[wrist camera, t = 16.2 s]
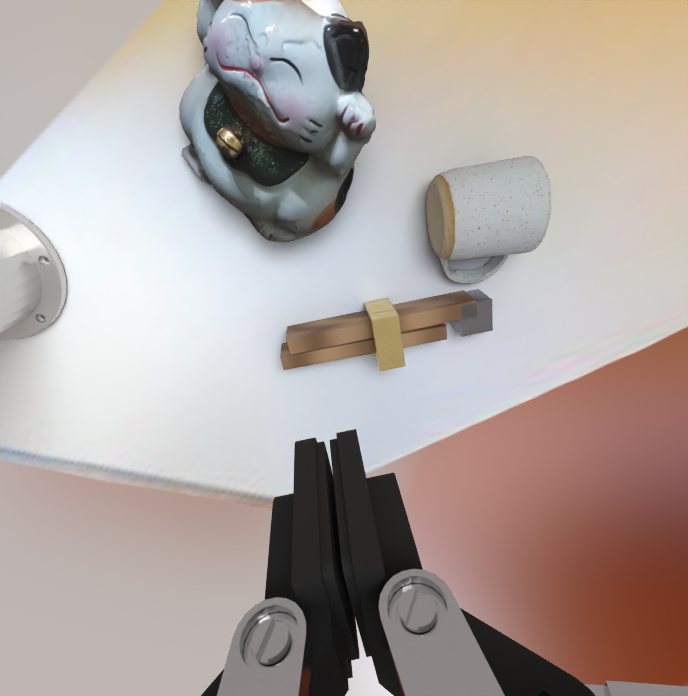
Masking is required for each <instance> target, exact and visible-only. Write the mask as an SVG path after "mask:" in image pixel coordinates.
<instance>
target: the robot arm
mask: <svg viewBox="0 0 688 696" xmlns="http://www.w3.org/2000/svg"><path fill="white" fill-rule="evenodd" d="M47 258H48V259H49V260H48V259H47ZM66 293H67V289H66V277H65V273H64V269H63V266H62V263H61V261H60V259H59V257H58V254H57V252H56V251H55V249H54V248H53V246H52V245H51V243H50V242H49V240H48V239H47V238H46V237H45V236H44V235H43V234H42V233H41V231H40V230H39V229H38V228H37V227H36V226H35V225H33V224H32V223H31V222H30V221H29V220H27V219H26V218H25V217H24V216H22V215H21V214H19V213H17V212H16V211H14V210H12V209H11V208H9V207H7V206H5V205H3V204H0V340H3V341H9V340H18V339H23V338H26V337H29V336H32V335H34V334H36V333H38V332H40V331H41V330H43V329H44V328H46V327H47V326H48V325H50V324H51V323H52V322H53V321H54V320H55V319H56V318H57V316H58V315H59V314H60V312H61V310H62V308H63V306H64V303H65V298H66ZM330 449H331V459H332V469H333V474H332V470H331V466H330V462H329V458H328V454H327V451H326V447H325V443H324V441H323V442H318V443H317V441H316V438H311V439H306V440H301V441H296V442H295V457H294V493H293V494H289V495H284V496H279V497H275V498H274V501H273V508H272V520H271V532H270V544H269V556H268V568H267V580H266V591H265V600H264V601H262V602H261V603H259V604H257V605H255V606H254V607H253V608H252V609H251V610H250V611H248V612H247V613H246V614H245V616H244V617H243V618H242V620H241V621H240V623H239V624H238V626H237V629H236V631H235V633H234V636H233V639H232V642H231V646H230V650H229V653H228V657H227V661H226V664H225V668H224V669H223V671H222V672H221V673H220V674H219V675H218V677H217V678H216V679H215V680H214V681H213V682H212V683H211V685H210V686H209V687H208V688H207V689H206V691H205V692H204V693H203V694H202V695H201V696H345V694H346V693H347V691H348V678H351V677H353V676H352V666H351V660H355V659H359V647H358V639H357V630H356V621H357V625H358V628H359V632H360V635H361V639H362V642H363V646H364V650H365V653H366V656H367V657H368V656H372V659H373V662H374V666H375V670H376V674H377V678H378V681H379V683H380V684H381V685H382V686H383V687H384V688H385V689H387V690H388V691H389V692H390V693H391V694H393V695H394V696H688V687H685V686H671V685H658V684H645V683H631V682H617V681H606V682H605V686H602V685H588V684H583V683H582V682H580V681H579V680H578V679H576V678H575V677H573V676H572V675H570V674H568V673H566V672H565V671H563V670H562V669H560V668H558V667H557V666H555V665H554V664H552V663H550V662H549V661H547V660H545V659H544V658H542V657H540V656H539V655H537V654H535V653H534V652H532V651H530V650H529V649H527V648H525V647H524V646H522V645H520V644H519V643H517V642H515V641H514V640H512V639H510V638H509V637H507V636H506V635H504V634H502V633H501V632H499V631H497V630H496V629H494V628H492V627H491V626H489V625H487V624H486V623H484V622H482V621H481V620H479V619H477V618H476V617H474V616H472V615H471V614H469V613H468V612H466V611H464V610H463V609H461V608H460V607H459V605H458V603H457V601H456V599H455V598H454V596H453V594H452V592H451V590H450V589H449V587H448V586H447V585H446V584H445V582H444V581H443V580H442V579H440V578H439V577H438V576H437V575H435V574H433V573H431V572H428V571H426V570H423V569H422V566H421V562H420V559H419V556H418V552H417V548H416V545H415V542H414V538H413V535H412V532H411V528H410V524H409V521H408V518H407V514H406V511H405V507H404V504H403V500H402V498H401V494H400V490H399V487H398V484H397V480H396V477H395V474H394V473H390V474H385V475H380V476H376V477H371V478H366V475H365V470H364V466H363V461H362V456H361V451H360V446H359V442H358V437H357V432H356V429H354V430H350V431H345V432H340V433H337V439H333V440H330ZM355 618H356V621H355Z"/></svg>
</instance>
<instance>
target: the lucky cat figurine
mask: <svg viewBox="0 0 688 696" xmlns="http://www.w3.org/2000/svg"><path fill="white" fill-rule="evenodd" d="M197 18H198V23H197V33H198V36H199V39H200V41H201V43H202V44H203V46H204V58H205V60H206V64H205V68H204V69H203V70H202V71H201V72H200V73H199V74H198V75H197V76H195V77H194V79H193V80H192V81H191V82H190V84H189V86H188V87H187V88H186V90H185V92H184V95H183V97H182V99H181V102H180V108H179V110H180V120H181V124H182V127H183V130H184V132H185V134H186V135H187V137H188V138H189V140H190V142H191V144H190V145H189V146H187V147H185V148H183V150H182V155H181V156H182V157H183V158H184V159H185V160H186V161H187V162H188V164H189V165H190V167H191V168H192V170H193V171H194V173H195V174H196V175H197V177H199V179H201V180H202V181H204V182H207V183H208V184H210V185H212V186H213V187H214V189H215V190H216V191H217V192H218V193H219V194H220V195H221V196H222V197H223V198H225V199H226V200H227V201H228V202H230V203H231V204H232V205H234V206H235V207H236V208H238V209H239V210H240V211H241V212H243V213H244V214H245V216H246V217H247V218H248V219H249V220H250V222H251V223H252V224H253V226H254V227H255V229H256V230H257V231H258V232H259V233H260V234H261V235H262V236H263V237H264V238H266V239H267V240H270V241H278V242H281V241H282V242H289V241H293V240H296V239H299V238H302V237H305V236H308V235H310V234H312V233H314V232H316V231H317V230H319V229H320V228H322V227H324V226H325V225H327V224H328V223H329V222H330V221H331V220H332V219H333V218H334V217H335V215H336V214H337V213H338V211H339V210H340V209H341V207H342V206H343V204H344V202H345V200H346V196H347V192H348V190H349V188H350V185H351V183H352V179H353V174H354V161H355V159H356V157H357V156H358V154H359V153H360V151H361V149H362V147H363V146H364V144H366V143H368V142H369V140H370V138H371V135H372V133H373V132H374V130H375V128H376V118H375V117H374V108H373V106H372V104H371V103H370V102H369V101H368V100H367V98H366V97H365V96H364V95H363V94H362V92H361V91H362V88H363V86H364V81H365V73H366V71H367V64H368V59H369V44H368V38H367V32H366V29H365V27H364V25H363V23H362V22H360V21H357V22H353V21H352V20H350V19H348V17H347V15H346V13H345V11H344V9H343V7H342V6H341V4H340V2H339V1H338V0H200V3H199V7H198V12H197Z"/></svg>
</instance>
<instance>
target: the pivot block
mask: <svg viewBox="0 0 688 696" xmlns="http://www.w3.org/2000/svg"><path fill="white" fill-rule="evenodd" d="M466 293H467V294H469V295H470V296H471V297H472V298H474V299H475V300H476V303H472V304H473V305H472V304H468V305H465V306H464V305H463V307H461V308H463V309H465V310H463V309H461V320H457V321H452V322H451V325H452V326H453V327H454V328H455V329H456V330H457V331H458V332H459V334H460V335H461V336H462V337H463V336H468V335H472V334H477V333H482V332H487V331H492V330H493V328H492V299H491V298H489V297H488V296H487V295H485V294H484V293H483V292H481V291H480V290H479V289H477V290H473V291H468V292H466ZM474 304H475V305H474ZM466 306H467V307H466ZM469 306H470V308H469ZM464 307H465V308H464ZM472 307H473V308H472ZM475 307H476V309H474V308H475ZM466 308H468V309H466ZM472 309H473V310H472ZM462 310H463V311H462ZM467 310H468V311H467ZM471 310H472V311H471ZM474 310H475V312H474ZM476 310H477V314H476V315H477V316H476V315H475V313H476ZM464 311H465V315H463V314H464V313H463V312H464ZM470 311H471V312H470ZM472 312H473V313H472ZM462 313H463V314H462ZM472 314H473V315H472ZM462 315H463V317H462ZM468 315H469V316H468ZM471 315H472V316H471ZM464 316H465V317H464ZM467 316H468V317H467ZM471 317H472V318H471ZM464 318H465V319H464Z"/></svg>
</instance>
